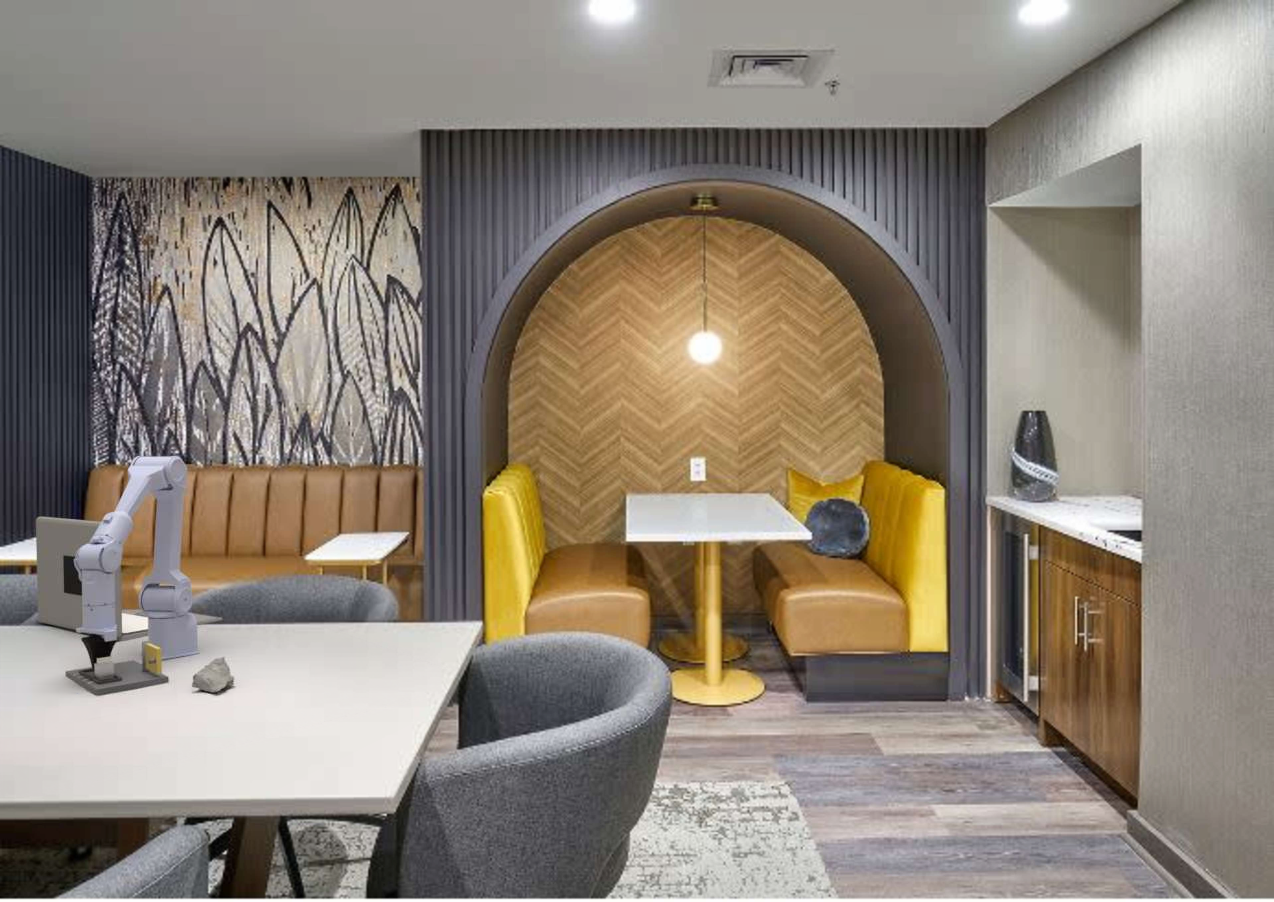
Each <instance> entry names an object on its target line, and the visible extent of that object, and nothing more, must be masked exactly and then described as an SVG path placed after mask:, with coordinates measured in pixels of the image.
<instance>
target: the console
mask: <svg viewBox="0 0 1274 902" xmlns="http://www.w3.org/2000/svg"><path fill="white" fill-rule="evenodd" d="M148 643H150V641H148V640H145V641H141V663H140V662H138V661H136V660H128V661H123V662H122V661H121V662H116V663H115V662H113V663H114V678H111V679H105V680H97V679H96V678H95V673H94V671H93V669H92V666H91V667H84V668H77V669H72V670H66V671H65V678H68V679H70V680H71V681H73V682H74V683H75V684H78V686H80V687H82V688H83V689H85V690H87V691H89V692H90V693H92V694H93V695H95V696H97V697H98V696H104V695H108V694H115V693H119V692H124V691H132V690H137V689H142V688H147V687H153V686H158V685H162V684H169V681H170V679H169V676H168V675H165V674H164V673H163V672H162V673H161V674H156V673H154V672H152V671H150V670H148V669H146V659H145V644H148Z"/></svg>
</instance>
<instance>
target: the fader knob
mask: <svg viewBox="0 0 1274 902" xmlns="http://www.w3.org/2000/svg"><path fill="white" fill-rule="evenodd" d="M112 657H113V656H112V655H111V656H104V657H97V663H94V666H95V678H96V679H97V680H105V679H111V678H114V663H115V662H113V661H112Z"/></svg>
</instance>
